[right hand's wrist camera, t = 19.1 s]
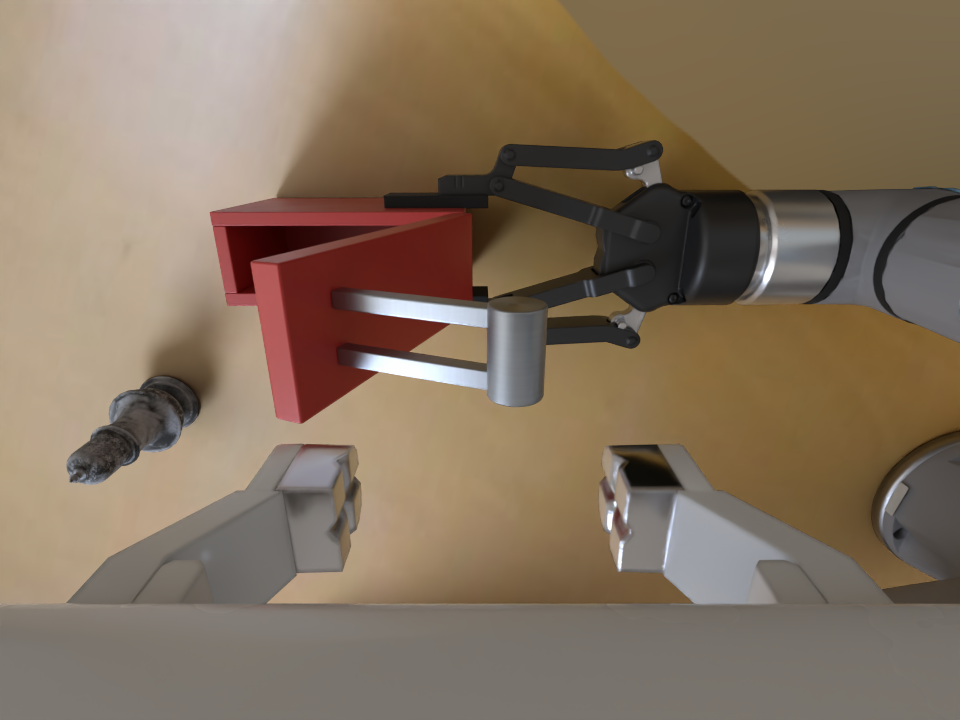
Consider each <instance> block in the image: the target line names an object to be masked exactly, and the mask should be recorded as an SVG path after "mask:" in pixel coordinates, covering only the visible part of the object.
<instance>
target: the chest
mask: <svg viewBox="0 0 960 720" xmlns="http://www.w3.org/2000/svg"><path fill="white" fill-rule="evenodd" d="M451 213H467V208H384V198H272V199H267V200H263V201H258V202H254V203H249V204H244V205H240V206H235V207H231V208H226V209H222V210H217V211H213V212H210V216H211V221H212V225H213V231H214V236H215V241H216V247H217V252H218V257H219V262H220V268H221V273H222V278H223V283H224V289H225V293H226V294H225V295H226V301H227V305H228V306H258V305H257V299H256V293H255V287H254V281H253V275H252V269H251V262H252V261H253V260H258V259H262V258H266V257H270V256H275V255H279V254H283V253H287V252H291V251H296V250H300V249H304V248H308V247H312V246H317V245H321V244H325V243H329V242H333V241H338V240H342V239H346V238H350V237H354V236H359V235H363V234H367V233H371V232H375V231H380V230H384V229H388V228H392V227H396V226H401V225H405V224H409V223H413V222H418V221H422V220H426V219H430V218H434V217H439V216H443V215H447V214H451Z"/></svg>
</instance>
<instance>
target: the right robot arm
mask: <svg viewBox="0 0 960 720" xmlns="http://www.w3.org/2000/svg"><path fill="white" fill-rule="evenodd" d="M358 464H359V463H358V456H357V450H356V448H355V446H354V445H320V444H306V445H304V444H281V445H277V446H276V447H275V448H274V450H273V451H272V453H271V454H270V455H269V457H268V458H267V460H266V461H265V463H264V464H263V465H262V467H261V468H260V470H259V471H258V473H257V474H256V475H255V477H254V478H253V480H252V481H251V482H250V484H249V485H248V487H247V488H246V490H245V491H235V492H233V493H231V494H230V495H228V496H226V497H224V498H222V499H220V500H218V501H216V502H214V503H212V504H210V505H208V506H207V507H205V508H203V509H201V510H199V511H197V512H195V513H193V514H191V515H189V516H187V517H185V518H183V519H182V520H180V521H178V522H176V523H174V524H172V525H170V526H168V527H166V528H164V529H162V530H160V531H159V532H157V533H155V534H153V535H151V536H149V537H147V538H145V539H143V540H141V541H139V542H137V543H135V544H134V545H132V546H130V547H128V548H126V549H124V550H122V551H120V552H118V553H116V554H114V555H112V556H111V557H109V558H107V560H106V561H105V562H104V563H103V564H102V565H101V566H100V567H99V568H98V569H97V570H96V571H95V573H94V574H93V575H92V576H91V577H90V578H89V579H88V580H87V581H86V582H85V583H84V584H83V586H82V587H81V588H80V589H79V590H78V591H77V592H76V593H75V594H74V595H73V596H72V597H71V599H70V600H69V601H68V602H67V603H66V604H0V720H960V604H894V603H893V602H892V601H891V600H890V598H889V597H888V596H887V595H886V594H885V593H884V592H883V591H882V590H881V589H880V588H879V586H878V585H877V584H876V583H875V582H874V581H873V580H872V579H871V578H870V577H869V576H868V574H867V573H866V572H865V571H864V570H863V569H862V568H861V567H860V566H859V565H858V564H857V562H856V561H855V560H854V559H853V558H851V557H849V556H847V555H845V554H843V553H841V552H839V551H838V550H836V549H834V548H832V547H830V546H828V545H826V544H824V543H822V542H820V541H818V540H817V539H815V538H813V537H811V536H809V535H807V534H805V533H803V532H801V531H799V530H797V529H795V528H794V527H792V526H790V525H788V524H786V523H784V522H782V521H780V520H778V519H776V518H774V517H773V516H771V515H769V514H767V513H765V512H763V511H761V510H759V509H757V508H755V507H753V506H751V505H750V504H748V503H746V502H744V501H742V500H740V499H738V498H736V497H734V496H732V495H730V494H729V493H727V492H725V491H715V490H714V488H713V487H712V485H711V484H710V483H709V481H708V480H707V478H706V477H705V476H704V474H703V473H702V471H701V470H700V469H699V467H698V466H697V464H696V463H695V461H694V460H693V459H692V457H691V456H690V454H689V453H688V452H687V450H686V449H685V447H684V446H683V445H681V444H658V445H617V446H605V447H604V450H603V454H602V463H601V464H602V467H603V470H604V472H605V475H606V476H605V477H604V478H603V480H602V481H601V482H600V483H599V495H598V501H599V514H600V519H601V523H602V526H603V529H604V530H605V531H606V532H607V533H609V534H610V541H609V548H610V551H611V553H612V556H613V559H614V562H615V565H616V568H617V571H618V572H648V573H664V574H663V575H664V576H665V577H666V578H667V579H668V580H669V581H670V582H672V583H673V584H674V585H675V586H676V587H677V588H678V589H679V590H680V591H681V592H682V593H683V594H685V595H686V596H687V597H688V598H689V599H690V600H691V601H692V602H693V603H694V604H266V603H267V602H268V601H269V600H270V599H271V598H272V597H274V596H275V595H276V594H277V593H278V592H279V591H280V590H281V589H282V588H283V587H284V586H285V585H287V584H288V583H289V582H290V581H291V580H292V579H293V578H294V577H295V576H296V573H311V572H342V571H343V568H344V565H345V562H346V559H347V556H348V553H349V551H350V548H351V541H350V534H351V533H353V532H354V531H355V530H356V529H357V526H358V523H359V519H360V512H361V505H362V493H361V483H360V482H359V481H358V480H357V478H356V477H355V476H354V475H355V472H356V470H357V467H358Z"/></svg>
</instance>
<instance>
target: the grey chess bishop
mask: <svg viewBox="0 0 960 720" xmlns="http://www.w3.org/2000/svg"><path fill="white" fill-rule="evenodd" d="M198 411H199V405H198V401H197V398H196V396H195V394H194V393H193V391H192V390H191V389H190V388H189V387H188V386H187V385H186V384H184V383H183V382H181V381H180V380H178V379H175V378H172V377H167V376H158V377H153V378H151V379H148V380H147V381H146V382H145V383H143V384H142V386H141V388H140V389H138V390H130V391H126V392H124V393H121V394H120V395H118V396H117V397H116V398H115V399H114V400H113V402H112V404H111V405H110V410H109V418H110V423H111V424H110V425H108V426H102V427H99V428H97V429H96V430H95V431H94V432H93V433H92V435H91V439H90V441H89V442H87V443H86V444H85V445H83V446H82V447H81V448H79V449H78V450H77V451H75V452H74V453H73V454H71V456H70V457H69V459H68V460H67V471H68V473H69V474H70V477H69V478H70V479H69V480H70V482H71V483H74V482H75V483H77V482H80V483H83V484H98V483H101V482H103V481H105V480H106V479H107V478H108V477H110V476H111V475H112V474H113V473H114V472H115V471H116V470H118V469H119V468H120V467H121V466H126V465H129V464H132V463H133V462H134V461H136V460H137V458H138V457H139V453H140V451H141V450H142V451H148V452H159V451H164V450H166V449H169V448H170V447H172V446H173V445H174V444H175V443H176V442H177V441H178V439H179V438H180V435H181V430H182V428H184V427H187V426H189V425H190V424H191V423H192V422H194V420H195V419H196V417H197V415H198Z"/></svg>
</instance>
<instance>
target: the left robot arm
mask: <svg viewBox="0 0 960 720" xmlns="http://www.w3.org/2000/svg"><path fill="white" fill-rule="evenodd" d="M662 153H663V147H662V144H661V143H660V142H659V141H656V140H653V141H641V142H637V143H634V144H631V145H628V146H625V147H622V148H619V149H598V148H578V147H558V146H538V145H518V144H508V145H505V146H503V147H502V148H501V150H500V152H499V155H498V158H497V161H496V164H495V166H494V168H493V170H492V171H491V172H490V173H488V174H484V175H446V176H443V177H441V178H439V179H438V190H439V193H389V194H387V195H385V196H384V208H488V196H498V197H501V198H505V199H508V200H511V201H514V202H518V203H521V204H524V205H527V206H531V207H534V208H537V209H540V210H544V211H547V212H550V213H553V214H557V215H560V216H563V217H566V218H570V219H573V220H576V221H579V222H583V223H586V224H589V225H592V226H594V227H596V239H597V244H598V248H597V251H596V254H595V257H594V265H593V266H591V267H587V268H584V269H582V270H580V271H579V272H577V273H573V274H570V275H567V276H563V277H560V278H556V279H553V280H550V281H546V282H543V283H539V284H536V285H533V286H529V287H526V288H523V289H519V290H516V291H512V292H509V293H506V294H502V295H499V296H495V297H493V298H488V286H472V298H473V301H477V302H486V303H489V302H490V301H491V300H494V299H497V298H502V297H512V296H520V297H530V298H536V299H539V300H542V301H544V302H546V303H547V305H548V308H551V307H555V306H558V305H562V304H565V303H568V302H572V301H575V300H579V299H582V298H586V297H597V296H601V295H604V294H608V293H611V292H613V293H615V294H616V295H617V296H619V297H620V298H621V299H623V300H624V301H625V302H627V303H628V304H629V307H628V308H627V309H626V310H624V311H614V312H612V313H611V314H610V316H609V317H606V316H574V317H555V318H547V335H546V345H554V344H573V343H592V342H608V343H612V344H615V345H619V346H622V347H625V348H630V349H632V348H635V347H637V346H638V344H639V343H640V336H639V335H638V334H637V332H638V330H639V328H640V325H641V323H642V321H643V318H644V316H645V314H646V312H651V311H654V310H656V309H657V308H660V307H662V306H666V305H728V304H731V303H733V302H736V303H737V304H740V305H772V304H853V305H862V306H867V307H870V308H873V309H875V310H878V311H880V312H883V313H885V314H888V315H890V316H893V317H896V318H898V319H901V320H904V321H906V322H909V323H912V324H916V325H919V326H921V327H924V328H926V329H928V330H931V331H933V332H935V333H938V334H940V335H942V336H945V337H947V338H949V339H951V340H954V341H956V342H958V343H960V189H956V188H938V187H933V186H930V187H915V188H913V189H878V190H844V191H826V190H750V191H749V192H747V193H744V192H742V191H740V190H677V189H675V188H673V187H671V186H670V185H668V184H666V183H662V178H661V172H660V167H659V161H658V159H659V158H660V157H661V155H662ZM516 166H531V167H552V168H572V169H592V170H613V171H614V170H622V171H623V175H624V176H625V177H626V178H628V179H633V180H635V179H638V180H639V181H640V182H641V183H642V185H643V187H641V188H640V189H639V190H637V191H636V192H634V193H633V194H631V195H630V196H629V197H627V198H626V199H624V200H623V201H622V202H620V203H619V204H617V205H616V206H615V207H613V208H612V209H609V208H606V207H603V206H599V205H596V204H593V203H589V202H586V201H583V200H579V199H576V198H573V197H570V196H567V195H563V194H560V193H557V192H554V191H551V190H547V189H544V188H541V187H538V186H535V185H531V184H528V183H525V182H522V181H519V180H515V179H512V176H513V173H514V170H515V167H516ZM871 520H872V525H873V528H874V531H875V533H876V535H877V537H878V538H879V540H880V541H881V542H882V543H883V544H884V545H885V546H886V547H887V548H888V549H889V550H890V551H891V552H892V553H893V554H894V555H896V556H897V557H898V558H899V559H901V560H903V561H904V562H906V563H907V564H909V565H910V566H912V567H914V568H916V569H918V570H920V571H922V572H924V573H926V574H927V575H929V576H931V577H933V578H935V579H937V580H939V581H932V582H926V583H919V584H913V585H906V586H900V587H893V588H887V589H881V590H882V591H883V592H884V593H885V594H886V595H887V596H888V597H889V598H890V600H891V601H892V602H893V603H894V604H960V431H959V432H955V433H951V434H948V435H944V436H942V437H939V438H937V439H934V440H932V441H930V442H928V443H926V444H924V445H922V446H920V447H919V448H917V449H916V450H914V451H913V452H911V453H910V454H908V455H907V456H906V457H904V458H903V459H902V460H901V461H900V462H899V463H898V464H897V465H896V466H895V467H894V468H893V469H892V470H891V471H890V472H889V473H888V474H887V476H886V477H885V478H884V480H883V481H882V483H881V485H880V486H879V488H878V490H877V492H876V495H875V497H874V500H873V504H872V511H871Z"/></svg>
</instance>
